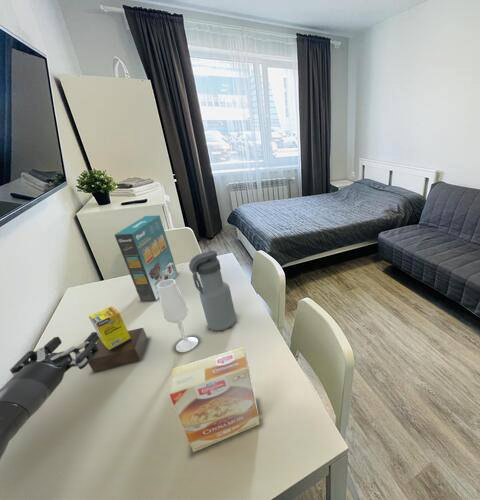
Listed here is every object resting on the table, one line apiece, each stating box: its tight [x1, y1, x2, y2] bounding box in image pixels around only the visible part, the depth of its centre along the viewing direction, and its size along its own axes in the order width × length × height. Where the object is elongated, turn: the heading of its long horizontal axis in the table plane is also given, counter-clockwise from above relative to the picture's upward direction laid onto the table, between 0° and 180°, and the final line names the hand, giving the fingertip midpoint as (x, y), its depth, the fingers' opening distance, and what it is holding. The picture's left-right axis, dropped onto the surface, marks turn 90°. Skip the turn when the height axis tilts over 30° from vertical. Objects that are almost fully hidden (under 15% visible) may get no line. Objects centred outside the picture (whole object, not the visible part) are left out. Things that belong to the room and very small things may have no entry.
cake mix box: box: [114, 215, 178, 302], centre depth 116 cm, size 22×6×30 cm, turn 6°
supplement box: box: [88, 305, 131, 351], centre depth 82 cm, size 6×6×11 cm
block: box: [88, 327, 149, 373], centre depth 85 cm, size 12×10×5 cm
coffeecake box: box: [168, 346, 261, 453], centre depth 61 cm, size 15×7×20 cm, turn 114°
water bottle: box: [188, 250, 237, 332], centre depth 93 cm, size 10×10×28 cm
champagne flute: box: [157, 278, 199, 353], centre depth 84 cm, size 7×7×24 cm
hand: (77, 336), depth 69 cm, fingers open, 8 cm apart
